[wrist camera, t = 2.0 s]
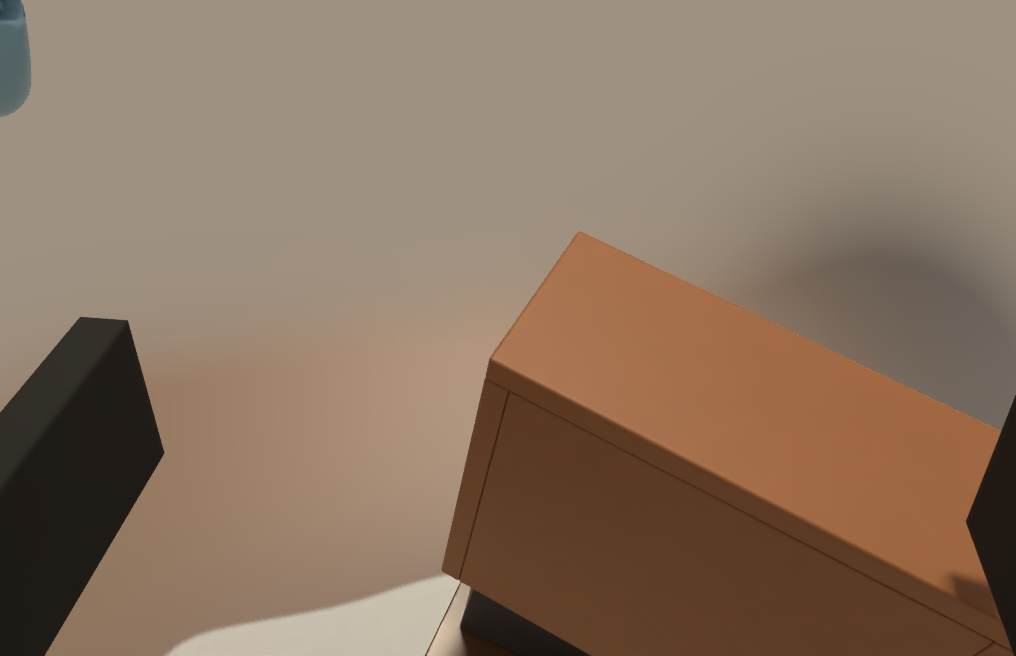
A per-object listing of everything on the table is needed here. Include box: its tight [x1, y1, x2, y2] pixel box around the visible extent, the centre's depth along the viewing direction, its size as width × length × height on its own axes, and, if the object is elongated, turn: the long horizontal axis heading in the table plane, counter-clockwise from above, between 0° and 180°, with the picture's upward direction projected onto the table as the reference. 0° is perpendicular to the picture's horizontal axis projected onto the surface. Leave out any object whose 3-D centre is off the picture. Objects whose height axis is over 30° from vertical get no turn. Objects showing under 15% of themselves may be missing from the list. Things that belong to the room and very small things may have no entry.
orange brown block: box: [442, 232, 1014, 656], centre depth 20 cm, size 10×4×9 cm, turn 63°
